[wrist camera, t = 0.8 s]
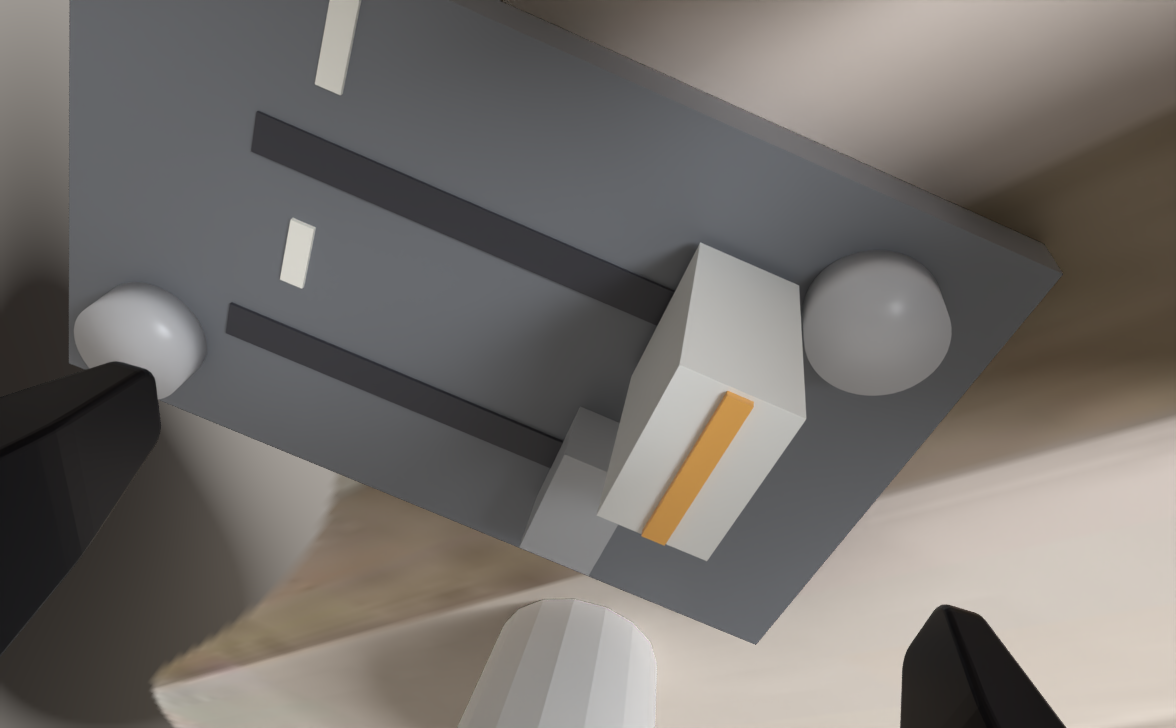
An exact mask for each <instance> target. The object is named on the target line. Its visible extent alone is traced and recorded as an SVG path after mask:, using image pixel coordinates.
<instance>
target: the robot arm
mask: <svg viewBox="0 0 1176 728" xmlns="http://www.w3.org/2000/svg"><path fill="white" fill-rule="evenodd" d="M160 429H161V422H160V413H159V405H158V397H157V388H156V381H155V377H154V376H153V374H152V373H151V372H150V371H148V370H147V369H144V368H141V367H137V366H134V365H131V364H127V363H124V362H118V361H113V362H109V363H105V364H102V365H99V366H96V367H93V368H89V369H86V370H84V371H80V372H77V373H74V374H71V375H68V376H65V377H61V378H58V379H55V380H52V381H49V382H46V383H43V384H40V385H36V386H33V387H30V388H27V389H24V390H21V391H18V392H15V393H12V394H8V395H6V396H3V397H0V656H1V655H2V654H3V652H4V651H5V650H6V649H7V647H8V646H9V645H10V644H11V643H12V642H13V640H14V639H15V638H16V637H17V635H18V634H19V633H20V632H21V631H22V629H23V628H24V627H25V626H26V625H27V623H28V622H29V621H30V620H31V618H32V617H33V616H34V615H35V614H36V612H37V611H38V610H39V609H40V607H41V606H42V605H43V604H44V603H45V601H46V600H47V599H48V598H49V596H50V595H51V594H52V593H53V592H54V590H55V589H56V588H57V587H58V585H59V584H60V583H61V582H62V580H63V579H64V578H65V577H66V576H67V574H68V573H69V572H70V571H71V569H72V568H73V567H74V566H75V564H76V563H77V562H78V560H79V559H80V558H81V557H82V555H83V554H84V552H85V551H86V550H87V548H88V547H89V545H90V544H91V543H92V541H93V540H94V538H95V537H96V535H97V534H98V532H99V530H100V529H101V528H102V526H103V525H104V523H105V522H106V520H107V519H108V517H109V516H110V514H111V512H112V511H113V509H114V508H115V506H116V505H117V503H118V502H119V500H120V499H121V497H122V496H123V494H124V493H125V491H126V490H127V488H128V486H129V485H130V483H131V482H132V480H133V479H134V477H135V476H136V474H137V473H138V471H139V470H140V468H141V467H142V465H143V464H144V462H145V461H146V459H147V457H148V456H149V454H150V453H151V451H152V450H153V448H154V447H155V445H156V443H157V440H158V438H159V434H160ZM900 728H1066V727H1065V725H1064V724H1063V723H1062V721H1061V720H1060V719H1059V717H1058V716H1057V715H1056V713H1055V712H1054V711H1053V709H1052V708H1051V707H1050V705H1049V704H1048V703H1047V701H1046V700H1045V699H1044V697H1043V696H1042V695H1041V693H1040V692H1039V691H1038V689H1037V688H1036V687H1035V685H1034V684H1033V683H1032V681H1031V680H1030V679H1029V677H1028V676H1027V675H1026V673H1025V672H1024V671H1023V670H1022V668H1021V667H1020V666H1019V664H1018V663H1017V662H1016V660H1015V659H1014V658H1013V656H1012V655H1011V654H1010V652H1009V651H1008V650H1007V648H1006V647H1005V646H1004V644H1003V643H1002V642H1001V640H1000V639H999V638H998V636H997V635H996V634H995V632H994V631H993V630H992V628H991V627H990V626H989V624H988V623H987V622H986V621H985V619H984V618H983V617H981V616H980V615H979V614H977V613H975V612H971V611H968V610H964V609H961V608H958V607H954V606H951V605H941V606H939V607H937V608H936V609H935V610H934V611H933V613H932V614H931V616H930V617H929V619H928V620H927V621H926V623H925V624H924V626H923V627H922V629H921V630H920V632H919V633H918V634H917V636H916V637H915V639H914V640H913V642H912V643H911V645H910V646H909V648H908V650H907V652H906V654H905V658H904V662H903V668H902V693H901V721H900Z"/></svg>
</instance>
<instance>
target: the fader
mask: <svg viewBox="0 0 1176 728" xmlns="http://www.w3.org/2000/svg"><path fill="white" fill-rule="evenodd" d="M805 420H806V402H805V384H804V366H803V348H802V330H801V312H800V294H799V285H797V284H795V283H792V282H790V281H788V280H785V279H783V278H781V277H779V276H776V275H774V274H772V273H769V272H767V271H765V270H763V269H760V268H758V267H756V266H753V265H751V264H749V263H746V262H744V261H742V260H740V259H737V258H735V257H733V256H730V255H728V254H726V253H724V252H721V251H719V250H717V249H714V248H712V247H710V246H708V245H705V244H703V243H701V242H700V244H699V246H698V248H697V250H696V252H695V254H694V256H693V258H692V259H691V261H690V263H689V265H688V267H687V269H686V271H685V273H684V275H683V277H682V279H681V281H680V283H679V285H678V287H677V289H676V291H675V293H674V295H673V296H672V298H671V300H670V302H669V304H668V306H667V308H666V310H665V312H664V314H663V316H662V318H661V320H660V322H659V324H658V326H657V328H656V330H655V332H654V334H653V335H652V337H651V339H650V341H649V343H648V345H647V347H646V349H645V351H644V353H643V355H642V357H641V359H640V361H639V363H638V365H637V367H636V369H635V371H634V372H633V374H632V376H631V380H630V384H629V388H628V392H627V396H626V400H625V404H624V408H623V412H622V416H621V420H620V424H619V428H618V432H617V436H616V440H615V444H614V448H613V452H612V456H611V460H610V464H609V468H608V472H607V476H606V480H605V484H604V488H603V492H602V495H601V499H600V503H599V507H598V511H597V516H599V517H601V518H604V519H606V520H609V521H611V522H613V523H616V524H618V525H621V526H623V527H626V528H628V529H630V530H633V531H635V532H638V533H640V534H642V535H641V536H642V537H645V538H647V539H649V540H652V541H654V542H657V543H659V544H661V545H664V546H665V544H667V545H669V546H671V547H674V548H676V549H679V550H681V551H683V552H686V553H688V554H691V555H693V556H695V557H698V558H700V559H703V560H705V561H707V560H708V559H709V558H710V556H711V555H712V553H713V552H714V550H715V549H716V548H717V546H718V545H719V543H720V542H721V540H722V539H723V538H724V536H725V535H726V533H727V532H728V530H729V529H730V528H731V526H732V525H733V523H734V522H735V520H736V519H737V518H738V516H739V515H740V513H741V512H742V510H743V509H744V507H745V506H746V505H747V503H748V502H749V500H750V499H751V497H752V496H753V495H754V493H755V492H756V490H757V489H758V487H759V486H760V485H761V483H762V482H763V480H764V479H765V477H766V476H767V475H768V473H769V472H770V470H771V469H772V467H773V466H774V465H775V463H776V462H777V460H778V459H779V457H780V456H781V455H782V453H783V452H784V450H785V449H786V447H787V446H788V445H789V443H790V442H791V440H792V439H793V437H794V436H795V435H796V433H797V432H798V430H799V429H800V427H801V426H802V425H803V423H804V422H805Z"/></svg>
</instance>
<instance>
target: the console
mask: <svg viewBox="0 0 1176 728" xmlns="http://www.w3.org/2000/svg"><path fill="white" fill-rule="evenodd" d="M69 65H70V67H69V68H70V69H69V70H70V71H69V78H70V79H69V83H70V86H69V92H70V93H69V101H70V102H69V103H70V104H69V112H70V113H69V114H70V115H69V363H70V364H72V365H75V366H77V367H80V368H82V369H85V370H86V369H89V368H93V367H96V366H99V365H102V364H105V363H109V362H113V361H118V362H124V363H127V364H131V365H134V366H137V367H141V368H144V369H147V370H148V371H150V372H151V373H152V374H153V376H154V377H155V381H156V388H157V397H158V400H160V401H163V402H165V403H168V404H170V405H172V406H175V407H177V408H180V409H182V410H185V411H187V412H189V413H192V414H194V415H197V416H199V417H202V418H204V419H207V420H209V421H212V422H214V423H216V424H219V425H221V426H224V427H226V428H228V429H231V430H233V431H236V432H238V433H241V434H243V435H246V436H248V437H251V438H253V439H255V440H258V441H260V442H263V443H265V444H267V445H270V446H272V447H275V448H277V449H280V450H282V451H285V452H287V453H289V454H292V455H294V456H297V457H299V458H302V459H304V460H307V461H309V462H311V463H314V464H316V465H319V466H321V467H324V468H326V469H328V470H331V471H333V472H336V473H338V474H341V475H343V476H345V477H348V478H350V479H353V480H355V481H358V482H360V483H363V484H365V485H367V486H370V487H372V488H375V489H377V490H380V491H382V492H384V493H387V494H389V495H392V496H394V497H397V498H399V499H402V500H404V501H406V502H409V503H411V504H414V505H416V506H419V507H421V508H423V509H426V510H428V511H431V512H433V513H436V514H438V515H441V516H443V517H445V518H448V519H450V520H453V521H455V522H458V523H460V524H463V525H465V526H467V527H470V528H472V529H475V530H477V531H480V532H482V533H484V534H487V535H489V536H492V537H494V538H497V539H499V540H502V541H504V542H506V543H509V544H511V545H514V546H516V547H519V548H521V549H523V550H526V551H528V552H531V553H533V554H536V555H538V556H541V557H543V558H545V559H548V560H550V561H553V562H555V563H558V564H560V565H562V566H565V567H567V568H570V569H572V570H575V571H577V572H580V573H582V574H584V575H587V576H589V577H592V578H594V579H597V580H599V581H601V582H604V583H606V584H609V585H611V586H614V587H616V588H619V589H621V590H623V591H626V592H628V593H631V594H633V595H636V596H638V597H640V598H643V599H645V600H648V601H650V602H653V603H655V604H658V605H660V606H662V607H665V608H667V609H670V610H672V611H675V612H677V613H679V614H682V615H684V616H687V617H689V618H692V619H694V620H697V621H699V622H701V623H704V624H706V625H709V626H711V627H714V628H716V629H719V630H721V631H723V632H726V633H728V634H731V635H733V636H736V637H738V638H740V639H743V640H745V641H748V642H750V643H753V644H755V645H756V644H757V643H758V642H759V640H760V639H761V638H762V637H763V636H764V634H765V633H766V632H767V631H768V630H769V628H770V627H771V626H772V625H773V624H774V622H775V621H776V620H777V619H778V618H779V616H780V615H781V614H782V613H783V612H784V610H785V609H786V608H787V607H788V605H789V604H790V603H791V602H792V601H793V599H794V598H795V597H796V596H797V595H798V593H799V592H800V591H801V590H802V589H803V587H804V586H805V585H806V584H807V583H808V581H809V580H810V579H811V578H812V577H813V575H814V574H815V573H816V572H817V570H818V569H819V568H820V567H821V566H822V564H823V563H824V562H825V561H826V560H827V558H828V557H829V556H830V555H831V554H832V552H833V551H834V550H835V549H836V548H837V546H838V545H839V544H840V543H841V542H842V540H843V539H844V538H845V537H846V535H847V534H848V533H849V532H850V531H851V529H852V528H853V527H854V526H855V525H856V523H857V522H858V521H859V520H860V519H861V517H862V516H863V515H864V514H865V513H866V511H867V510H868V509H869V508H870V507H871V505H872V504H873V503H874V502H875V501H876V499H877V498H878V497H879V496H880V494H881V493H882V492H883V491H884V490H885V488H886V487H887V486H888V485H889V484H890V482H891V481H892V480H893V479H894V478H895V476H896V475H897V474H898V473H899V472H900V470H901V469H902V468H903V467H904V466H905V464H906V463H907V462H908V461H909V459H910V458H911V457H912V456H913V455H914V453H915V452H916V451H917V450H918V449H919V447H920V446H921V445H922V444H923V443H924V441H925V440H926V439H927V438H928V437H929V435H930V434H931V433H932V432H933V431H934V429H935V428H936V427H937V426H938V424H939V423H940V422H941V421H942V420H943V418H944V417H945V416H946V415H947V414H948V412H949V411H950V410H951V409H952V408H953V406H954V405H955V404H956V403H957V402H958V400H959V399H960V398H961V397H962V396H963V394H964V393H965V392H966V391H967V390H968V388H969V387H970V386H971V385H972V383H973V382H974V381H975V380H976V379H977V377H978V376H979V375H980V374H981V373H982V371H983V370H984V369H985V368H986V367H987V365H988V364H989V363H990V362H991V361H992V359H993V358H994V357H995V356H996V355H997V353H998V352H999V351H1000V350H1001V348H1002V347H1003V346H1004V345H1005V344H1006V342H1007V341H1008V340H1009V339H1010V338H1011V336H1012V335H1013V334H1014V333H1015V332H1016V330H1017V329H1018V328H1019V327H1020V326H1021V324H1022V323H1023V322H1024V321H1025V320H1026V318H1027V317H1028V316H1029V315H1030V313H1031V312H1032V311H1033V310H1034V309H1035V307H1036V306H1037V305H1038V304H1039V303H1040V301H1041V300H1042V299H1043V298H1044V297H1045V295H1046V294H1047V293H1048V292H1049V291H1050V289H1051V288H1052V287H1053V286H1054V285H1055V283H1056V282H1057V281H1058V280H1059V278H1060V277H1061V276H1062V275H1063V273H1062V271H1061V270H1060V268H1059V267H1058V265H1057V264H1056V262H1055V260H1054V259H1053V257H1052V256H1051V254H1050V252H1049V251H1048V249H1047V248H1046V246H1045V244H1043V243H1041V242H1038V241H1036V240H1034V239H1032V238H1029V237H1027V236H1025V235H1023V234H1021V233H1018V232H1016V231H1014V230H1012V229H1009V228H1007V227H1005V226H1003V225H1000V224H998V223H996V222H994V221H991V220H989V219H987V218H985V217H982V216H980V215H978V214H976V213H974V212H971V211H969V210H967V209H965V208H962V207H960V206H958V205H956V204H953V203H951V202H949V201H947V200H944V199H942V198H940V197H938V196H936V195H933V194H931V193H929V192H927V191H924V190H922V189H920V188H918V187H915V186H913V185H911V184H909V183H906V182H904V181H902V180H900V179H898V178H895V177H893V176H891V175H889V174H886V173H884V172H882V171H880V170H877V169H875V168H873V167H871V166H868V165H866V164H864V163H862V162H859V161H857V160H855V159H853V158H851V157H848V156H846V155H844V154H842V153H839V152H837V151H835V150H833V149H830V148H828V147H826V146H824V145H821V144H819V143H817V142H815V141H813V140H810V139H808V138H806V137H804V136H801V135H799V134H797V133H795V132H792V131H790V130H788V129H786V128H783V127H781V126H779V125H777V124H774V123H772V122H770V121H768V120H766V119H763V118H761V117H759V116H757V115H754V114H752V113H750V112H748V111H745V110H743V109H741V108H739V107H736V106H734V105H732V104H730V103H728V102H725V101H723V100H721V99H719V98H716V97H714V96H712V95H710V94H707V93H705V92H703V91H701V90H698V89H696V88H694V87H692V86H689V85H687V84H685V83H683V82H681V81H678V80H676V79H674V78H672V77H669V76H667V75H665V74H663V73H660V72H658V71H656V70H654V69H651V68H649V67H647V66H645V65H643V64H640V63H638V62H636V61H634V60H631V59H629V58H627V57H625V56H622V55H620V54H618V53H616V52H613V51H611V50H609V49H607V48H605V47H602V46H600V45H598V44H596V43H593V42H591V41H589V40H587V39H584V38H582V37H580V36H578V35H575V34H573V33H571V32H569V31H566V30H564V29H562V28H560V27H558V26H555V25H553V24H551V23H549V22H546V21H544V20H542V19H540V18H537V17H535V16H533V15H531V14H528V13H526V12H524V11H522V10H520V9H517V8H515V7H513V6H511V5H508V4H506V3H504V2H502V1H499V0H70V62H69ZM700 242H701V243H703V244H705V245H708V246H710V247H712V248H714V249H717V250H719V251H721V252H724V253H726V254H728V255H730V256H733V257H735V258H737V259H740V260H742V261H744V262H746V263H749V264H751V265H753V266H756V267H758V268H760V269H763V270H765V271H767V272H769V273H772V274H774V275H776V276H779V277H781V278H783V279H785V280H788V281H790V282H792V283H795V284H797V285H799V294H800V312H801V330H802V348H803V366H804V384H805V402H806V420H805V422H804V423H803V425H802V426H801V427H800V429H799V430H798V432H797V433H796V435H795V436H794V437H793V439H792V440H791V442H790V443H789V445H788V446H787V447H786V449H785V450H784V452H783V453H782V455H781V456H780V457H779V459H778V460H777V462H776V463H775V465H774V466H773V467H772V469H771V470H770V472H769V473H768V475H767V476H766V477H765V479H764V480H763V482H762V483H761V485H760V486H759V487H758V489H757V490H756V492H755V493H754V495H753V496H752V497H751V499H750V500H749V502H748V503H747V505H746V506H745V507H744V509H743V510H742V512H741V513H740V515H739V516H738V518H737V519H736V520H735V522H734V523H733V525H732V526H731V528H730V529H729V530H728V532H727V533H726V535H725V536H724V538H723V539H722V540H721V542H720V543H719V545H718V546H717V548H716V549H715V550H714V552H713V553H712V555H711V556H710V558H709V559H708V560H707V561H705V560H703V559H700V558H698V557H695V556H693V555H691V554H688V553H686V552H683V551H681V550H679V549H676V548H674V547H671V546H669V545H667V544H665V546H664V545H661V544H659V543H657V542H654V541H652V540H649V539H647V538H645V537H642V536H641V535H642V534H640V533H638V532H635V531H633V530H630V529H628V528H626V527H623V526H621V525H618V524H616V523H613V522H611V521H609V520H606V519H604V518H601V517H599V516H597V511H598V507H599V503H600V499H601V495H602V492H603V488H604V484H605V480H606V476H607V472H608V468H609V464H610V460H611V456H612V452H613V448H614V444H615V440H616V436H617V432H618V428H619V424H620V420H621V416H622V412H623V408H624V404H625V400H626V396H627V392H628V388H629V384H630V380H631V376H632V374H633V372H634V371H635V369H636V367H637V365H638V363H639V361H640V359H641V357H642V355H643V353H644V351H645V349H646V347H647V345H648V343H649V341H650V339H651V337H652V335H653V334H654V332H655V330H656V328H657V326H658V324H659V322H660V320H661V318H662V316H663V314H664V312H665V310H666V308H667V306H668V304H669V302H670V300H671V298H672V296H673V295H674V293H675V291H676V289H677V287H678V285H679V283H680V281H681V279H682V277H683V275H684V273H685V271H686V269H687V267H688V265H689V263H690V261H691V259H692V258H693V256H694V254H695V252H696V250H697V248H698V246H699V244H700Z"/></svg>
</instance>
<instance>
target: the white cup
mask: <svg viewBox="0 0 1176 728" xmlns="http://www.w3.org/2000/svg"><path fill="white" fill-rule="evenodd" d="M656 679H657V662H656V659H655V655H654V652H653V648H652V645H651V642H650V641H649V640H648V639H647V638H646V637H645V635H644V634H643V633H642V632H641V631H640V630H639V629H638V628H637V626H636V625H635V624H634V623H633V622H631V621H629V620H628V619H626V618H624V617H623V616H621V615H619V614H617V613H616V612H614V611H612V610H610V609H609V608H607V607H604V606H600V605H596V604H592V603H588V602H585V601H581V600H577V599H544V600H541V601H538V602H535V603H533V604H530V605H527V606H525V607H522V608H519V609H518V610H517V611H516V612H515V613H514V614H513V615H512V617H511V618H510V619H509V620H508V621H507V622H506V623H505V624H504V626H503V628H502V630H501V632H500V635H499V637H498V639H497V641H496V643H495V646H494V648H493V650H492V652H491V654H490V657H489V659H488V661H487V663H486V665H485V667H484V670H483V672H482V674H481V676H480V678H479V681H478V683H477V685H476V687H475V689H474V692H473V694H472V696H471V698H470V700H469V703H468V705H467V707H466V709H465V711H464V713H463V716H462V718H461V720H460V722H459V724H458V727H457V728H655V714H656Z"/></svg>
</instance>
